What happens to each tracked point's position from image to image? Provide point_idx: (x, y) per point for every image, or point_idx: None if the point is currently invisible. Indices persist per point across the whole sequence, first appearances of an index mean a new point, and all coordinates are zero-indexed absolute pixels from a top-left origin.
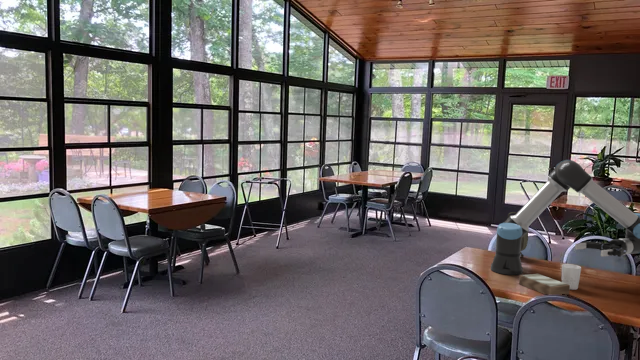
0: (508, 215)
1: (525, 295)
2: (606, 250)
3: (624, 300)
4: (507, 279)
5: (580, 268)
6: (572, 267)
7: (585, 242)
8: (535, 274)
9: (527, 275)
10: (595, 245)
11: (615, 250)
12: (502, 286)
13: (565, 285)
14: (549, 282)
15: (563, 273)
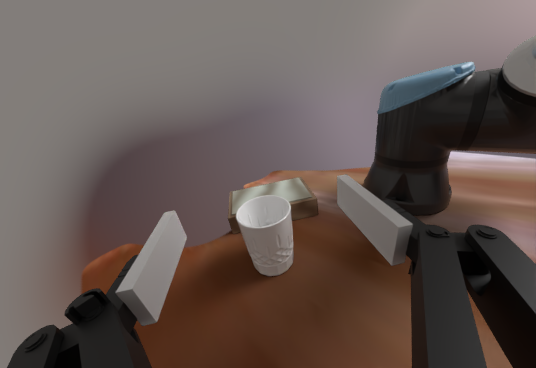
0: None
1: (249, 185)
2: (152, 234)
3: None
4: (329, 185)
5: (237, 221)
6: (281, 227)
7: (438, 233)
8: (304, 192)
9: (297, 182)
10: (418, 328)
11: (86, 308)
12: (290, 175)
13: (229, 211)
14: (250, 195)
15: (268, 212)
